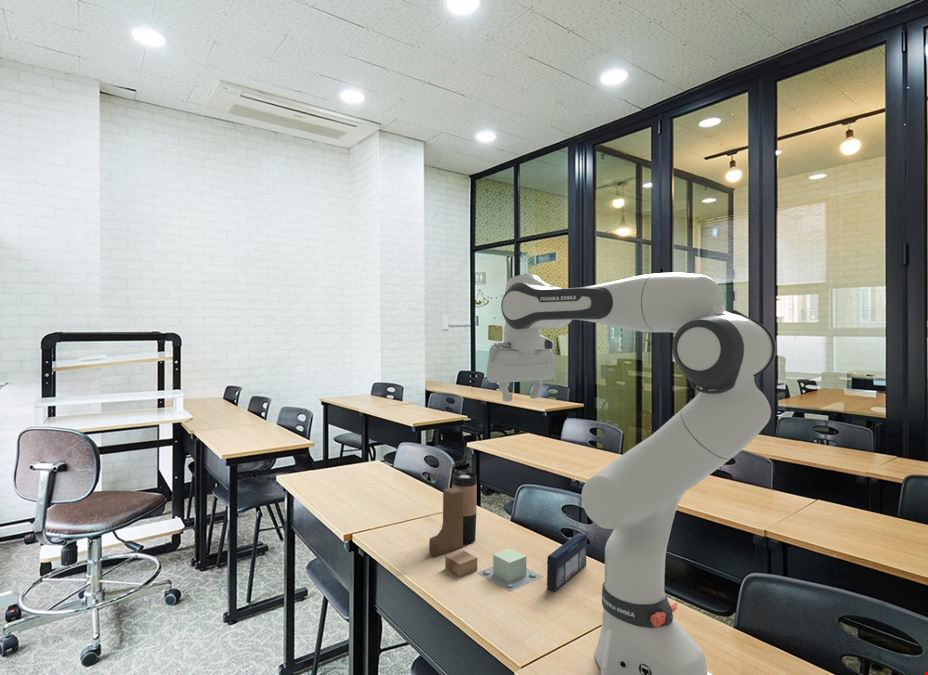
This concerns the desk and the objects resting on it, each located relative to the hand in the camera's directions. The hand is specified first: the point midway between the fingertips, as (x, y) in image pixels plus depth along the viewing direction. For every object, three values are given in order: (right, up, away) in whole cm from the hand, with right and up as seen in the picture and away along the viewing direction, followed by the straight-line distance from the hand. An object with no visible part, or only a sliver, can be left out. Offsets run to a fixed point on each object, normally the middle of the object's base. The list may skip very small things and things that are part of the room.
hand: (521, 399), depth 121 cm
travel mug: (-14, -48, +34) cm, 60 cm away
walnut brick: (-15, -48, +11) cm, 51 cm away
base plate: (-2, -48, +9) cm, 49 cm away
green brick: (-2, -46, +9) cm, 47 cm away
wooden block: (-19, -48, +24) cm, 57 cm away
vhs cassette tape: (+13, -48, +8) cm, 51 cm away
